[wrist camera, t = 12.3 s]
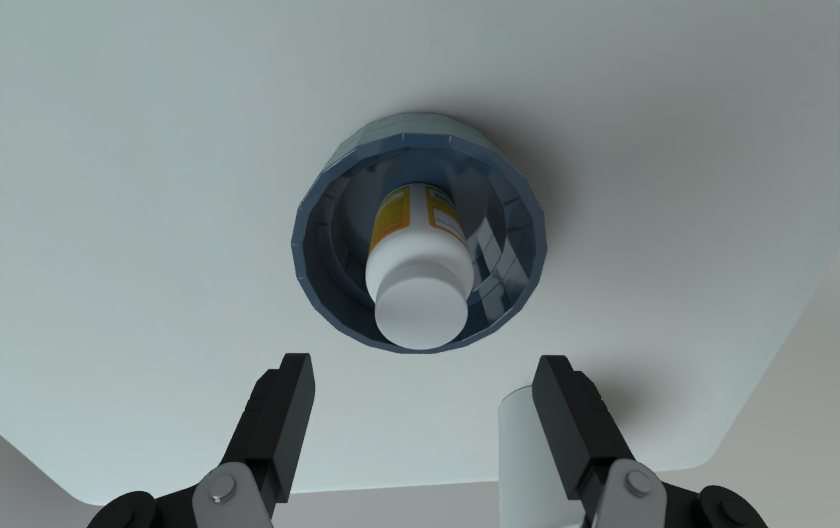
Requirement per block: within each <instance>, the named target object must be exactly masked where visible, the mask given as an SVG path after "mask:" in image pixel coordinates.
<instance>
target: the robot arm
mask: <svg viewBox="0 0 840 528" xmlns="http://www.w3.org/2000/svg"><path fill="white" fill-rule="evenodd" d="M314 396H315V380H314V374H313V368H312V363H311V357H310V354H309V353H286V354H285V356H284V358H283V360H282V363H281V365H280V368H279V369H268V370H267V371H266V372H265V373H264V375H263V376H262V377H261V378H260V379H259V380H258V381H257V382H256V384H255V386H254V389H253V391H252V393H251V396H250V399H249V400H248V402H247V405H246V407H245V411H244V412H243V414H242V416H241V418H240V420H239V423H238V425H237V427H236V430H235V432H234V434H233V436H232V439H231V441H230V443H229V445H228V448H227V450H226V452H225V454H224V457H223V459H222V461H221V462H220V464H219V465H218V466H217V467H216V468H214V469H213V470H211V471H210V472H209V473H208V474H207V475H206V476H205V477H204V478H203V479H202V480H201V481H200V482H199V483H198V484H196V485H194V486H192V487H189V488H186V489H183V490H180V491H177V492H174V493H171V494H168V495H165V496H162V497H159V498H156V499H154V498H153V496H152V495H151V494H149V493H147V492H144V491H134V492H130V493H126V494H124V495H122V496H119V497H118V498H116V499H114V500H113V501H111V502H110V503H108V504H107V505H106V506H105V507H104V508H102V509H101V510H100V511H99V512H98V513H97V514H96V516H95V517H94V518H93V519H92V520H91V522H90V523H89V525H88V527H87V528H274V527H273V525H272V522H271V519H272V515H273V512H274V508H275V504H276V503H287V502H288V498H289V494H290V491H291V487H292V483H293V479H294V475H295V471H296V467H297V464H298V460H299V456H300V452H301V448H302V444H303V440H304V437H305V433H306V429H307V425H308V421H309V417H310V413H311V410H312V406H313V402H314ZM532 397H533V402H534V405H535V408H536V410H537V413H538V416H539V419H540V422H541V425H542V428H543V430H544V433H545V436H546V439H547V442H548V445H549V448H550V450H551V453H552V456H553V459H554V462H555V465H556V468H557V470H558V473H559V476H560V479H561V482H562V485H563V488H564V490H565V493H566V496H567V499H568V500H581V502H582V505H583V508H584V510H585V511H584V512H583V515H582V518H581V522H580V525H579V528H768V527H767V525H766V524H765V522H764V521H763V520H762V518H761V517H760V515H759V514H758V513H757V511H756V510H755V509H754V508H753V507H752V506H751V505H750V504H749V503H748V502H747V501H746V500H745V499H743V498H742V497H741V496H739V495H738V494H736V493H735V492H733V491H731V490H729V489H727V488H724V487H721V486H715V485H712V486H707V487H705V488H704V489H703V490H702V491H701V492H700V493H696V492H693V491H690V490H686V489H683V488H680V487H677V486H674V485H670V484H668V483H665V482H663V481H661V480H660V479H659V478H658V477H657V476H656V474H655V473H654V472H653V471H651V470H650V469H649V468H648V467H646V466H645V465H643V464H642V463H640V462H638V461H636V459H635V458H634V456H633V455H632V453H631V451H630V449H629V447H628V445H627V444H626V442H625V440H624V438H623V436H622V434H621V433H620V431H619V429H618V427H617V425H616V423H615V422H614V420H613V418H612V416H611V414H610V412H608V410H607V407H606V405H605V403H604V401H603V400H601V396H600V394H599V392H598V390H597V389H596V387H595V385H594V383H593V382H592V381H591V380H590V379H589V378H588V377H587V376H586V375H585V374H584V373H583V372H582V371H574V370H573V368H572V366H571V364H570V362H569V360H568V359H567V357H566V356H564V355H542V356H541V358H540V360H539V364H538V367H537V370H536V373H535V377H534V380H533V383H532Z"/></svg>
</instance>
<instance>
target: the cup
mask: <svg viewBox="0 0 840 528" xmlns="http://www.w3.org/2000/svg"><path fill="white" fill-rule="evenodd" d="M498 436H499V520H500V522H499V525H500V528H579V525H580V522H581V518H582V515H583V512H584V511H585V510H584V508H583V505H582V502H581V500H568V499H567V496H566V493H565V490H564V488H563V485H562V482H561V479H560V476H559V473H558V470H557V468H556V465H555V462H554V459H553V456H552V453H551V450H550V448H549V445H548V442H547V439H546V436H545V433H544V430H543V428H542V425H541V422H540V419H539V416H538V413H537V410H536V408H535V405H534V402H533V397H532V386H530V387H525V388H522V389H519V390H517V391H515V392H513V393H511V394H510V395H508V396H507V397H506V398H505V399H504V400H503V401H502V403H501V404H500V406H499V411H498Z"/></svg>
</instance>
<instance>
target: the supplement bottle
mask: <svg viewBox="0 0 840 528" xmlns="http://www.w3.org/2000/svg"><path fill="white" fill-rule="evenodd" d="M473 281H474V270H473V265H472V260H471V256H470V253H469V250H468V246H467V243H466V239H465V236H464V232H463V229H462V225H461V222H460V219H459V215H458V212H457V210H456V207H455V205H454V203H453V202H452V200H451V199H450V198H449V196H448V195H447V194H445V193H444V192H443V191H442V190H440V189H438V188H437V187H434V186H432V185H428V184H424V183H412V184H407V185H403V186H401V187H399V188H397V189H395V190H393V191H392V192H390V193H389V194H388V195H387V196H386V197H385V198H384V199H383V201H382V202H381V204H380V206H379V208H378V211H377V214H376V218H375V223H374V228H373V234H372V239H371V244H370V249H369V254H368V259H367V265H366V285H367V289H368V292H369V294H370V296H371V298H372V299H373V301H374V302H375V320H376V323H377V326H378V328H379V330H380V331H381V333H382V334H383V335H384V336H385V337H386V338H387V339H388V340H390V341H391V342H393V343H395V344H396V345H399V346H401V347H405V348H409V349H416V350H424V349H432V348H436V347H439V346H442V345H444V344H446V343H448V342H450V341H451V340H453V339H454V338H455V337H456V336H457V335H458V334H459V333H460V332H461V331H462V329H463V328H464V326H465V323H466V320H467V316H468V308H467V302H466V300H467V298H468V297H469V295H470V292H471V290H472V287H473Z"/></svg>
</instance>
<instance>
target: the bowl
mask: <svg viewBox="0 0 840 528" xmlns="http://www.w3.org/2000/svg"><path fill="white" fill-rule="evenodd" d="M412 183H424V184H428V185H432V186H434V187H437V188H438V189H440V190H442V191H443V192H444V193H445V194H447V195H448V196H449V198H450V199H451V200H452V202H453V203H454V205H455V207H456V210H457V212H458V215H459V219H460V222H461V225H462V229H463V232H464V236H465V239H466V243H467V246H468V250H469V253H470V256H471V260H472V265H473V270H474V281H473V287H472V290H471V292H470V295H469V297H468V298H467V300H466V302H467V308H468V316H467V320H466V323H465V326H464V328H463V329H462V331H461V332H460V333H459V334H458V335H457V336H456V337H455V338H454V339H453V340H451V341H450V342H448V343H446V344H444V345H442V346H439V347H436V348H432V349H424V350H416V349H409V348H405V347H401V346H399V345H396V344H395V343H393V342H391V341H390V340H388V339H387V338H386V337H385V336H384V335H383V334H382V333H381V331H380V330H379V328H378V326H377V323H376V320H375V302H374V301H373V299H372V298H371V296H370V294H369V292H368V289H367V285H366V265H367V259H368V254H369V249H370V244H371V239H372V234H373V228H374V223H375V218H376V214H377V211H378V208H379V206H380V204H381V202H382V201H383V199H384V198H385V197H386V196H387V195H388V194H389V193H390V192H392V191H393V190H395V189H397V188H399V187H401V186H403V185H407V184H412ZM291 248H292V254H293V260H294V265H295V271H296V277H297V280H298V281H299V283H300V285H301V287H302V288H303V290H304V292H305V294H306V296H307V297H308V299H309V301H310V303H311V304H312V306H313V307H314V309H315V310H316V311H318V312H319V313H320V314H321V315H322V316H323V317H324V318H325V319H326V320H327V321H328V322H329V323H330V324H331V325H332V326H334V327H335V328H336V329H337V330H338V331H340V332H342V333H344V334H346V335H347V336H349V337H351V338H353V339H355V340H357V341H359V342H361V343H363V344H365V345H367V346H370V347H374V348H379V349H383V350H387V351H391V352H395V353H400V354H432V353H433V354H435V353H439V352H444V351H448V350H453V349H457V348H462V347H465V346H468V345H470V344H472V343H474V342H476V341H478V340H480V339H482V338H484V337H486V336H488V335H491V334H493V333H494V332H496V331H497V330H498V329H500V328H501V327H502V326H503V325H504V324H505V323H507V322H508V321H509V320H510V319H511V318H512V317H514V316H515V315H516V314H517V313H518V312H520V310H521V309H522V308H523V306H524V305H525V303H526V302H527V300H528V299H529V297H530V296H531V294H532V293H533V291H534V290H535V288H536V286H537V285H538V283H539V280H540V276H541V272H542V269H543V265H544V261H545V257H546V253H547V239H546V230H545V220H544V213H543V211H542V209H541V207H540V205H539V203H538V201H537V199H536V197H535V195H534V194H533V192H532V190H531V188H530V186H529V184H528V182H527V180H526V179H525V178H524V177H523V175H522V174H521V173H520V172H519V171H518V170H517V169H516V167H515V166H514V165H513V164H512V163H511V162H510V161H509V159H508V158H507V157H506V156H505V155H504V154H503V152H502V151H501V150H500V149H499V148H498V147H497V146H495V145H494V144H493V143H492V142H491V141H490V140H489V139H488V138H486V137H485V136H484V135H483V134H482V133H481V132H480V131H478V130H477V129H476V128H474V127H473V126H470V125H467V124H465V123H462V122H460V121H457V120H455V119H452V118H450V117H447V116H445V115H441V114H427V113H401V114H398V115H394V116H391V117H388V118H385V119H381V120H378V121H375V122H372V123H369V124H367V125H366V126H364V127H363V128H362V129H360V130H359V131H358V132H356V133H355V134H354V135H352V136H351V137H350V138H348V139H347V140H346V141H344V142H343V143H342V144H341V145H340V146H339V147H338V148H337V150H336V151H335V153H334V154H333V155H332V157H331V158H330V160H329V161H328V163H327V164H326V165H325V167H324V168H323V170H322V171H321V173H320V174H319V176H318V177H317V179H316V180H315V182H314V183H313V185H312V186H311V188H310V189H309V191H308V192H307V194H306V195H305V197H304V199H303V200H302V202H301V203H300V205H299V207H298V210H297V215H296V220H295V225H294V230H293V234H292V239H291Z"/></svg>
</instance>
